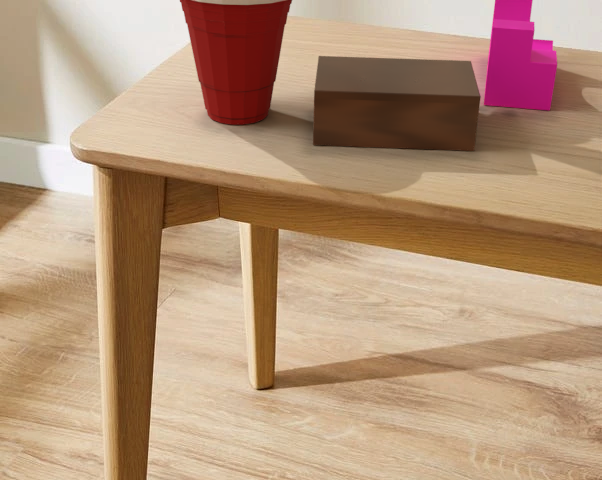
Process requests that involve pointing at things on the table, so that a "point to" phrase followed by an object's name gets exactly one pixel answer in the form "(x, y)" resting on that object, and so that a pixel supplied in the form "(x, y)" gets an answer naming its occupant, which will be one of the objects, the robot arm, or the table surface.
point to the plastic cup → (236, 54)
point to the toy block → (518, 60)
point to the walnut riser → (395, 103)
